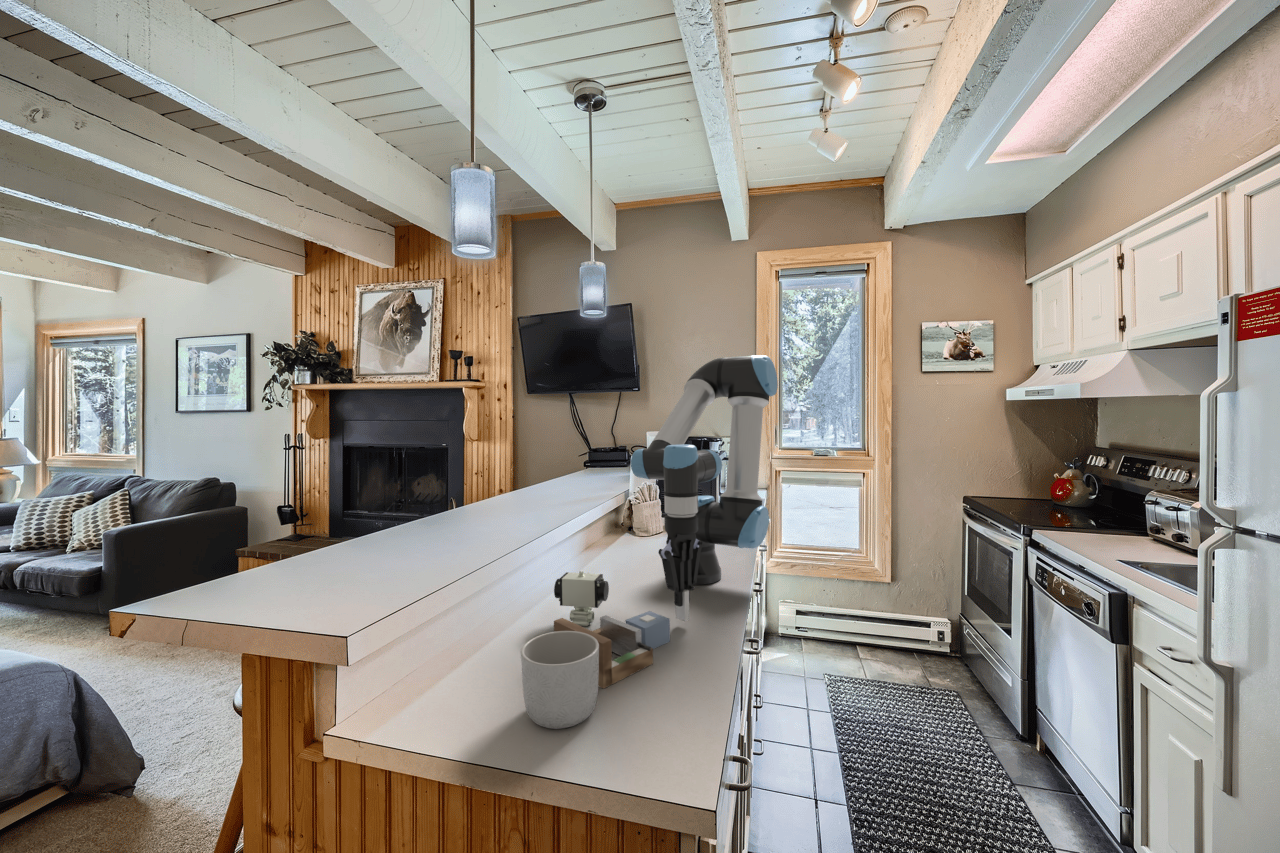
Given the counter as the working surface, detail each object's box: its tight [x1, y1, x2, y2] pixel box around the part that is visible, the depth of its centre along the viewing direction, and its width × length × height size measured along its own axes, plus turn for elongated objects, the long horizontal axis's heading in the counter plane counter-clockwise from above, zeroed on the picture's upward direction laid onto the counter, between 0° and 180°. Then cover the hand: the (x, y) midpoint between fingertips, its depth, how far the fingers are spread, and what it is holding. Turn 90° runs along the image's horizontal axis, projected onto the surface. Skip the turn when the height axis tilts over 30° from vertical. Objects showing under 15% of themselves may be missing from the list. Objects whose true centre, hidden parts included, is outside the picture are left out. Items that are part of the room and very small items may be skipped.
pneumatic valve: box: [553, 570, 610, 627], centre depth 120 cm, size 6×12×12 cm, turn 78°
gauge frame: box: [553, 617, 654, 689], centre depth 101 cm, size 12×15×8 cm
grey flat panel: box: [599, 614, 651, 657], centre depth 103 cm, size 2×13×6 cm, turn 45°
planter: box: [520, 631, 599, 730], centre depth 84 cm, size 12×12×11 cm
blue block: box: [625, 610, 671, 650], centre depth 109 cm, size 7×6×5 cm
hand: (682, 618), depth 117 cm, fingers closed
